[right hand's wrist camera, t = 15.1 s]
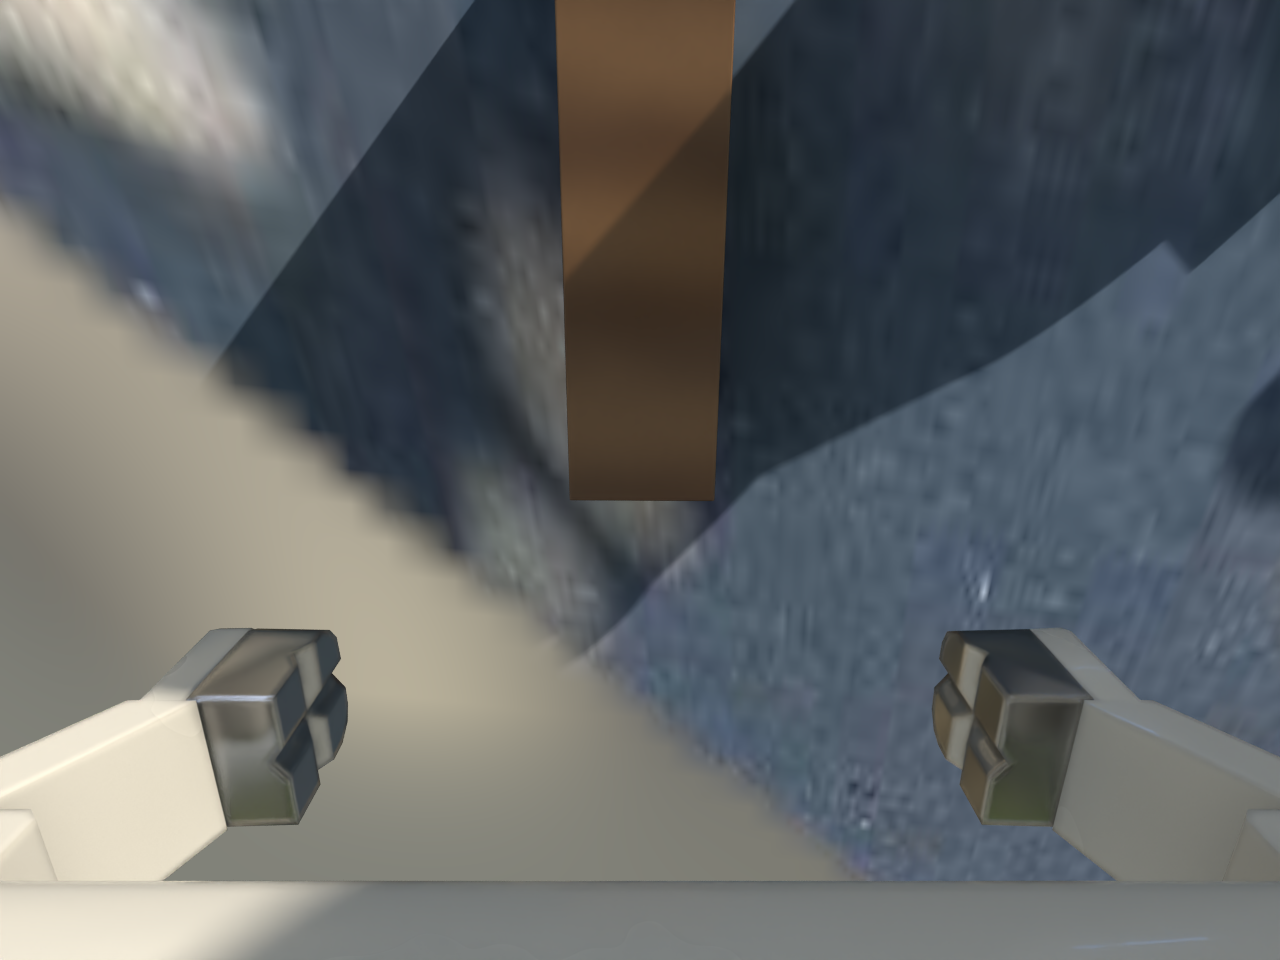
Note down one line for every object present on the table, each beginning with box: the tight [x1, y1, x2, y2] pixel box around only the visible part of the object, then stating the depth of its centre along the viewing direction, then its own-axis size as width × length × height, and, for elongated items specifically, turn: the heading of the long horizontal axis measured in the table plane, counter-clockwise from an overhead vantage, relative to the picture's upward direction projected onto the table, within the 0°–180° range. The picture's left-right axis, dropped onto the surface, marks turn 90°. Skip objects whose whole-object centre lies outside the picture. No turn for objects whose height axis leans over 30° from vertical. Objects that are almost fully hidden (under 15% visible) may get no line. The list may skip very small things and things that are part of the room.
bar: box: [555, 0, 735, 501], centre depth 28 cm, size 22×5×9 cm, turn 0°
